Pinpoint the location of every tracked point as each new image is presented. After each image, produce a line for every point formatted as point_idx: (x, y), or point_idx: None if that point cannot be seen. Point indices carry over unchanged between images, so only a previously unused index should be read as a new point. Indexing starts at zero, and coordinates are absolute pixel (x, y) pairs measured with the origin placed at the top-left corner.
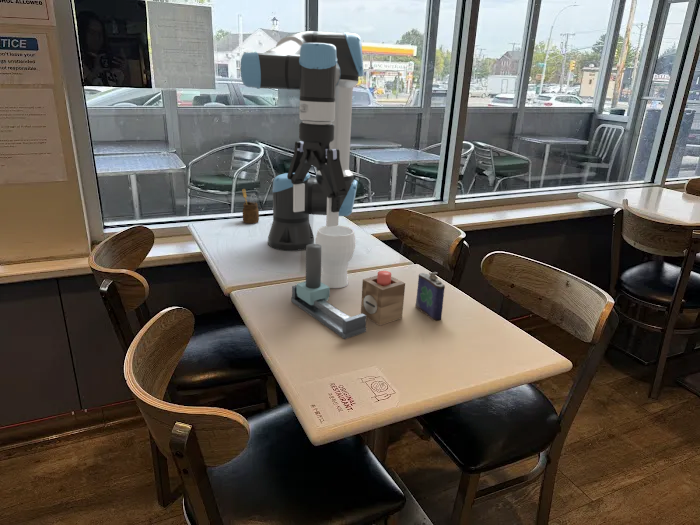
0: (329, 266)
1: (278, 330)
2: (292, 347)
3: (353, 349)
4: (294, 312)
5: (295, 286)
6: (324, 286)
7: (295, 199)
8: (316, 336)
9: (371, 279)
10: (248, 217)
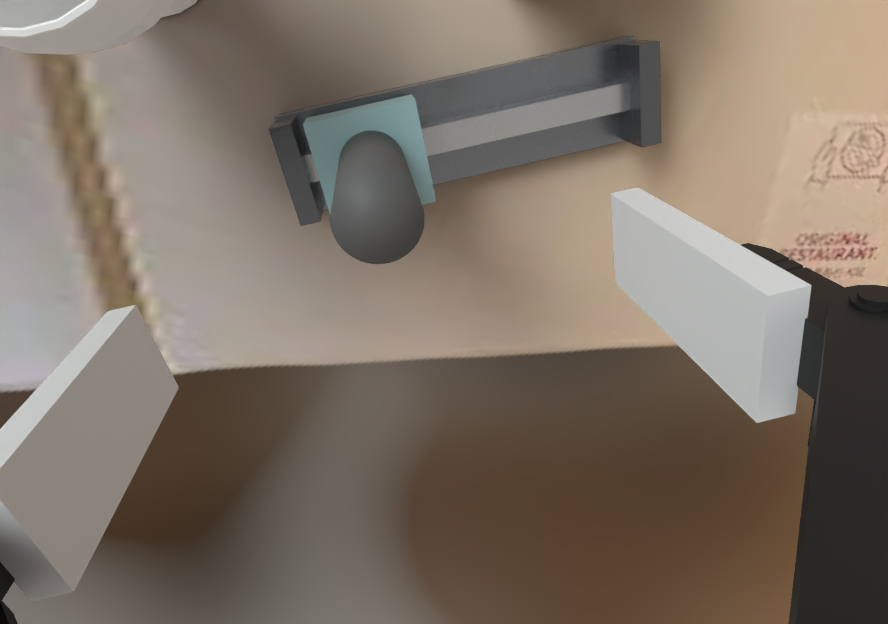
0: None
1: (491, 302)
2: (593, 292)
3: (692, 134)
4: None
5: (308, 214)
6: (398, 119)
7: (138, 457)
8: (572, 211)
9: None
10: None
